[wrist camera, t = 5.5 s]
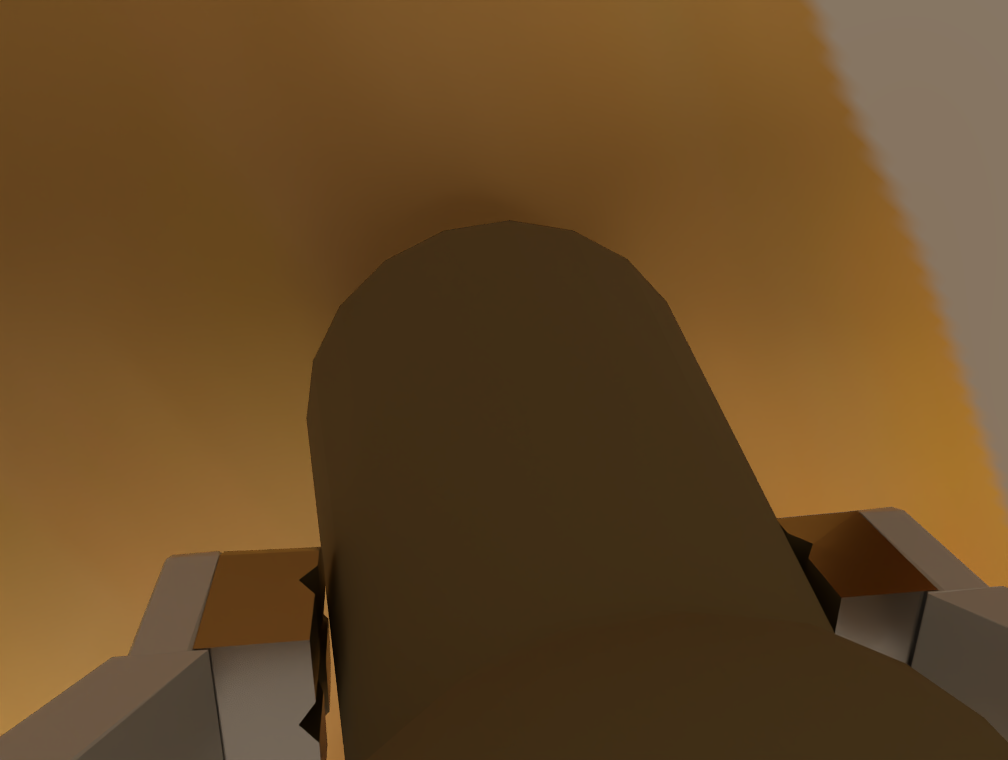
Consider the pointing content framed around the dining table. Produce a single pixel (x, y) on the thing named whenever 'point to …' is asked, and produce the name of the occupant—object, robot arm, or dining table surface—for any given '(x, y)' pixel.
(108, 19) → the dining table surface
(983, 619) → the robot arm
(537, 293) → the cork
